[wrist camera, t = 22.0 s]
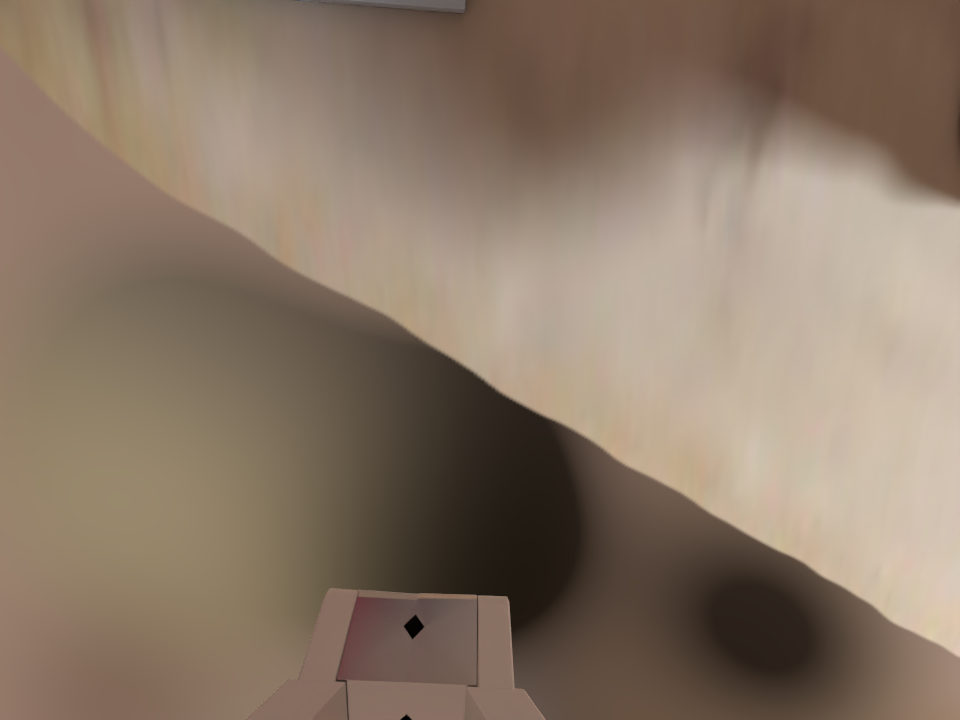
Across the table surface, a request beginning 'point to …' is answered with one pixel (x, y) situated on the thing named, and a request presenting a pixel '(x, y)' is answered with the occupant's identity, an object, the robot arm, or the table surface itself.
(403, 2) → the vise
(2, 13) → the table surface
